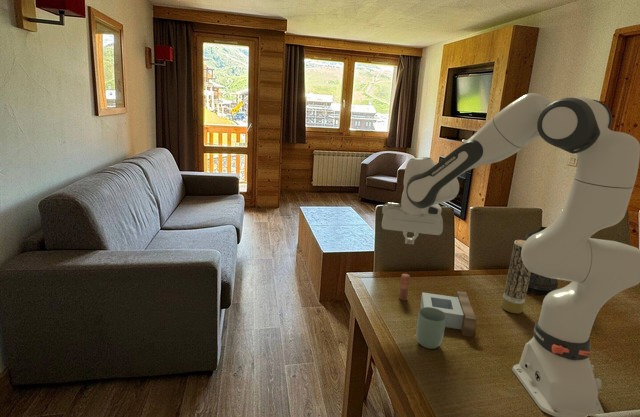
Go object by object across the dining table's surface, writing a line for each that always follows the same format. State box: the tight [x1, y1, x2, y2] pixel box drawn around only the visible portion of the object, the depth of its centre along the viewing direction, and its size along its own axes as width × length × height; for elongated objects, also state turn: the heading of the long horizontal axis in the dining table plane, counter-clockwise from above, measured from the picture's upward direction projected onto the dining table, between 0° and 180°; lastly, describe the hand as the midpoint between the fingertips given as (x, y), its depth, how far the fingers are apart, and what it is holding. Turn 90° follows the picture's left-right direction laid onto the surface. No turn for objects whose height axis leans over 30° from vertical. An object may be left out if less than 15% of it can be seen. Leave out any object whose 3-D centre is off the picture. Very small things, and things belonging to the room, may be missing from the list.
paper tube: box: [501, 239, 531, 314], centre depth 130 cm, size 7×7×25 cm
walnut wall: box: [455, 290, 477, 337], centre depth 124 cm, size 18×3×6 cm, turn 169°
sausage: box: [398, 273, 411, 301], centre depth 136 cm, size 3×3×9 cm
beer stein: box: [525, 226, 559, 296], centre depth 148 cm, size 16×19×25 cm
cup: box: [415, 307, 447, 350], centre depth 109 cm, size 8×8×10 cm
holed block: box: [419, 292, 464, 330], centre depth 125 cm, size 12×12×5 cm
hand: (409, 243), depth 130 cm, fingers closed
